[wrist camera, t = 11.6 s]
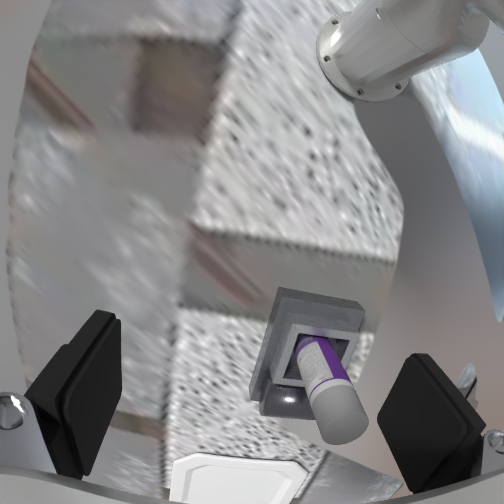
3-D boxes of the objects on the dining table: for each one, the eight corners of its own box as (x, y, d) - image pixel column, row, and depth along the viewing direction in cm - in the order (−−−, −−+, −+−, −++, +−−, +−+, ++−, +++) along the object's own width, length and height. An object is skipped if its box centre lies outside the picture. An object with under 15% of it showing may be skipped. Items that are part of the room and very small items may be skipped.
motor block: (278, 286, 40) (289, 315, 32) (357, 301, 41) (381, 329, 33) (249, 386, 44) (252, 425, 36) (319, 394, 45) (332, 430, 37)
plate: (277, 513, 56) (278, 520, 54) (169, 503, 53) (168, 511, 51) (313, 455, 50) (315, 463, 48) (175, 441, 47) (174, 451, 45)
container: (335, 346, 39) (377, 426, 25) (306, 367, 40) (335, 452, 25) (316, 322, 38) (356, 402, 24) (285, 344, 39) (310, 431, 24)
